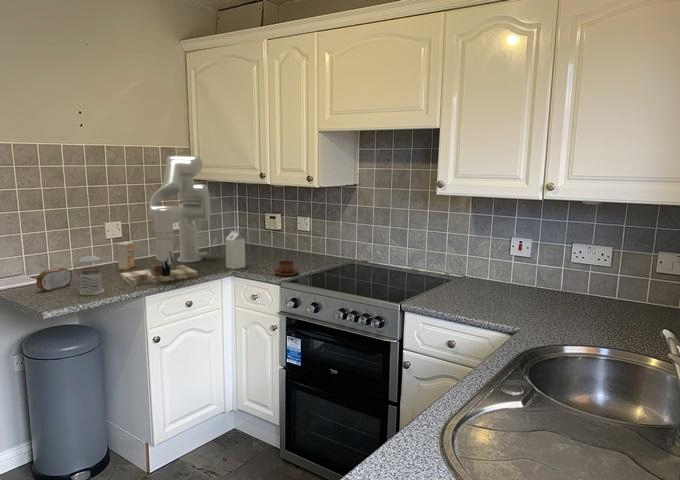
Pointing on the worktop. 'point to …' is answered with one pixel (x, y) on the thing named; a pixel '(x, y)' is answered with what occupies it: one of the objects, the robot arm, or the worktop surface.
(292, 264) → the cup and saucer
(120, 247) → the supplement box
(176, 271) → the trap board
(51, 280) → the brown grey rounded block
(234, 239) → the milk carton
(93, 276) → the french press
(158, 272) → the walnut block
